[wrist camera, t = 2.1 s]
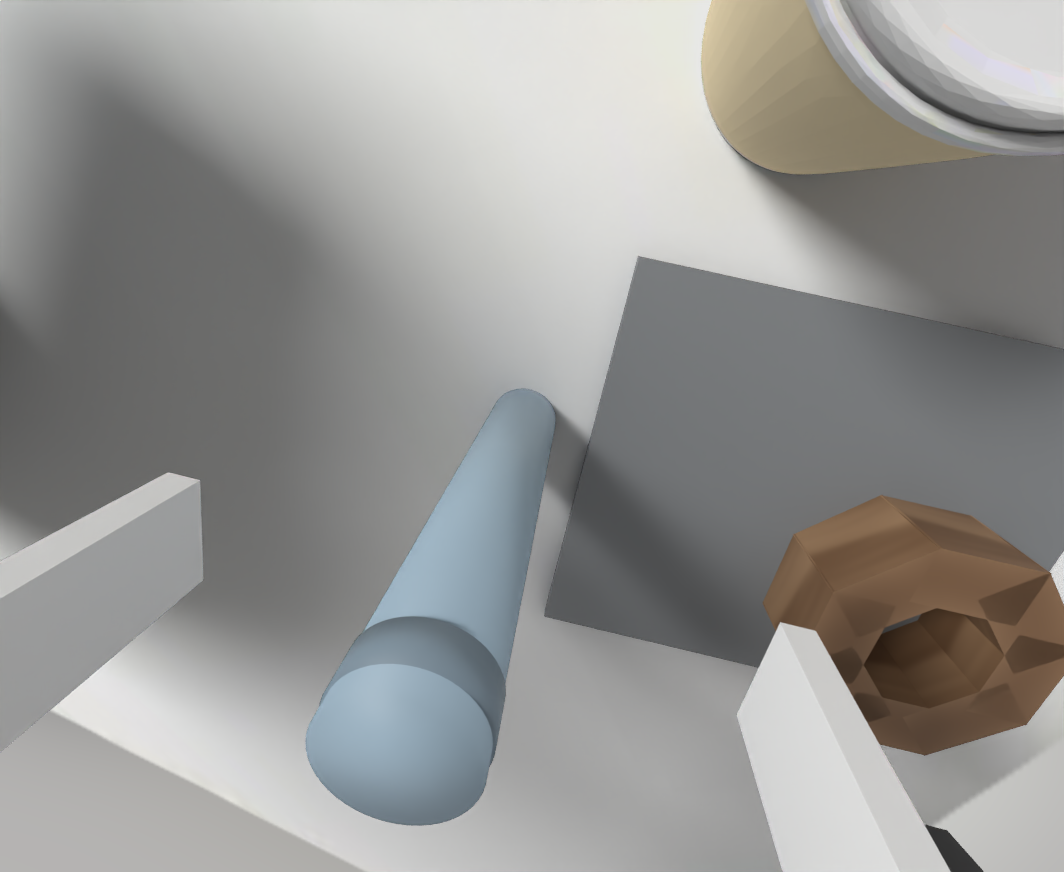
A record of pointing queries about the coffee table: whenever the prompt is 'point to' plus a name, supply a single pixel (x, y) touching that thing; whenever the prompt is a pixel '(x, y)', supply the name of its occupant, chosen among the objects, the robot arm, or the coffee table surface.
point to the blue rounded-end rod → (441, 638)
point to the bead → (925, 620)
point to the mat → (788, 449)
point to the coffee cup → (884, 81)
